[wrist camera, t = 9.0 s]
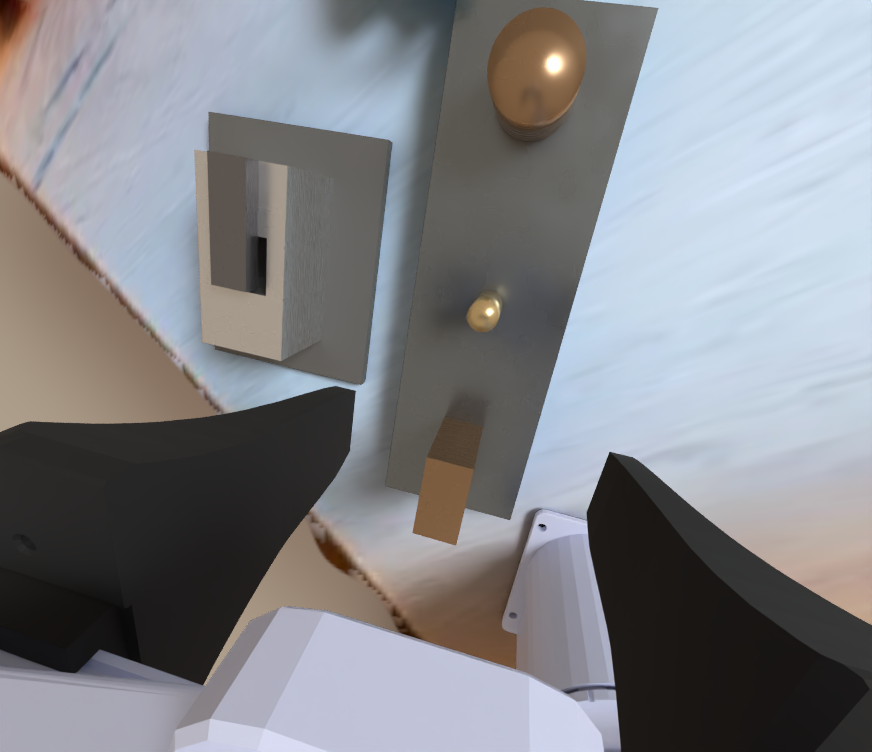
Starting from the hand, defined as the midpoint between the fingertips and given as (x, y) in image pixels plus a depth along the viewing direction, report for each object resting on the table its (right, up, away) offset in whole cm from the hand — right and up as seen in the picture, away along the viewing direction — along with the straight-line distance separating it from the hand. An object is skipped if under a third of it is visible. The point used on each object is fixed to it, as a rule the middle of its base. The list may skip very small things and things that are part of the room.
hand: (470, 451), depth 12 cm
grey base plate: (+2, +6, +9) cm, 11 cm away
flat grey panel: (-8, +8, +10) cm, 16 cm away
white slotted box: (-8, +8, +10) cm, 15 cm away
